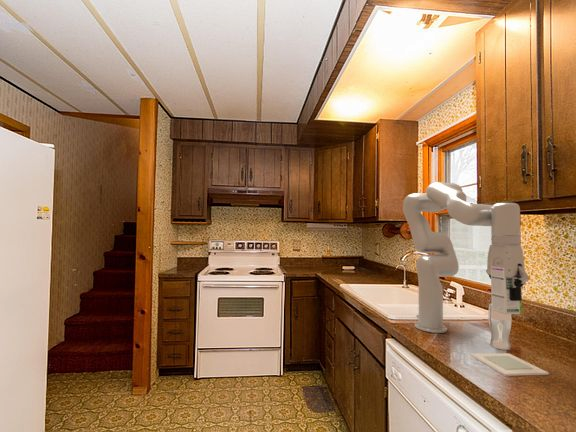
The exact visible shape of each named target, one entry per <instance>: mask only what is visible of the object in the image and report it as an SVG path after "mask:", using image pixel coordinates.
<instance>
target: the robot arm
mask: <svg viewBox="0 0 576 432" xmlns="http://www.w3.org/2000/svg"><path fill="white" fill-rule="evenodd" d="M426 187H427V188H426V189H425V192H424V193H422V192H421V193H420V192H418V193H417V192H414V193H411V194H408V195H406V197H405V198H404V200H403V204H402V212H403V215H404V218H405V219H406V222H407V224H408V227H409V230H410V235H411V239H412V241H413V246H414V249H415V250H416V251H417V252H418V253H422V254H423V253H424V254H423V255H421V256H419V257H418V258H417V259H416V262H415V269H416V272H417V273H416V274H417V280H418V313H417V315H416V316H415V317H416V318H417V321H415V323H414V327H415V328H416V329H417V330H420V331H422V332H423V331H424V332H427V333H432V334H443V333H446V332H447V331H448V328H447V326H445V325H444V289H443V284H442V283H441V281H440V279H439V278H440V277H444V278H445V277H447V278H449V277H453V276H456V275H457V274H458V272H459V267H460V266H459V261H458V258H457V256H456V255H457V254H456V252H455V249H454V245H453V243H452V240H451V238H450V237H449V236H448V234H446V233H445V232H440V231H433V230H432V229H431V225H430V222H429V220H428V219H427V218H426V217H425V216H424V215H423V214H422V213H423V212H424V213H439V212H442V211H444V210H446V211H447V213H448V216H449V217H451V218H452V219H454V220H456V221H458V222H459V223H461V224H463V225H465V226H466V225H467V226H480V227H491V228H490V229H491V230H490V231H491V233H490V235H491V236H490V237H491V239H490V241H491V244H490V245H489V248H488V251H487V252H488V253H487V263H486V264H487V265H486V267H487V269H486V270H485V271H486V274H487V275H488V277H489V279H490V280H491V266H492V267H494V266H495V267H496V266H498V267H499V266H500V267H499V268H501V267H502V268H505V277H506V278H509V280H510V283H511V286H512V287H510V300H511V301H520V300H521V288H523V287H524V285H525V284H526V283H527V282H528V281H529V280H530V276H529V275H528V273H527V272H526V270H525V269H526V268H525V258H524V250H523V248H522V247H523V246H521V209H520V205H519V204H518V203H516V202H498V203H495V204H494V203H493V204H485V203H484V204H482V203H471V202H468V201H467V195H466V193H465V192H464V190H463V189H462V187H461V186H460V185H459V184H457V183H456V182H455V183H454V182H442V181H441V182H440V181H437V182H433V183H431V184H429V185H427V186H426ZM515 276H516V277H515ZM514 280H516V282H515V281H514Z"/></svg>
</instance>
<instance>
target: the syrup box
mask: <svg viewBox="0 0 576 432" xmlns="http://www.w3.org/2000/svg"><path fill="white" fill-rule="evenodd" d="M499 267H500V266H499ZM499 267H498V266H496V267H495V266H494V267H492V266H491V279H490V287H491V288H490V291H491V292H490V293H491V295H490V296H491V303H492V310H494V311H497V312H500V313H503V314H511V315H523V295H522V294H523V293H522V288H523V287H522V288H521V300H520V301H511V300H510V287H512V286H511V283H510V280H509V278H506V277H505V268H502V267H501V268H499ZM515 277H516V276H515ZM514 281H515V282H516V280H514Z"/></svg>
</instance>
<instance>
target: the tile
mask: <svg viewBox="0 0 576 432" xmlns="http://www.w3.org/2000/svg"><path fill="white" fill-rule="evenodd" d="M470 357H472V358H474V359H475V360H477V361H479V362H481V363H482V364H484V365H485V366H487V367H489V368H490V369H493V370H495V371H496V372H498V373H499V374H501V375H502V376H504V377H509V376H510V377H511V376H515V377H516V376H517V377H519V376H548V375H549V374H550V373H549V372H548V371H547V370H544V369H542V368H540V367H537V366H536V365H534V364H531V363H529V362H528V361H527V360H523V359H521V358H519V357H517V356H515V355H514V354H511V353H508V352H507V353H505V352H504V353H503V352H502V353H501V352H500V353H498V352H497V353H470Z"/></svg>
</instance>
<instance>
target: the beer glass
mask: <svg viewBox="0 0 576 432" xmlns="http://www.w3.org/2000/svg"><path fill="white" fill-rule="evenodd" d="M487 313H488V315H487V316H488V317H487V318H488V324H489V329H490V336H491V337H490V343H489V346H491V347H492V348H494V349H496V350H497V349H498V350H502V351H510V350H511V344H510V332H511V330H512V329H511V327H512V323H513V322H512V321H513V319H512V314H503V313H500V312H497V311H494V310H492V302H490V303H488V312H487Z"/></svg>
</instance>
